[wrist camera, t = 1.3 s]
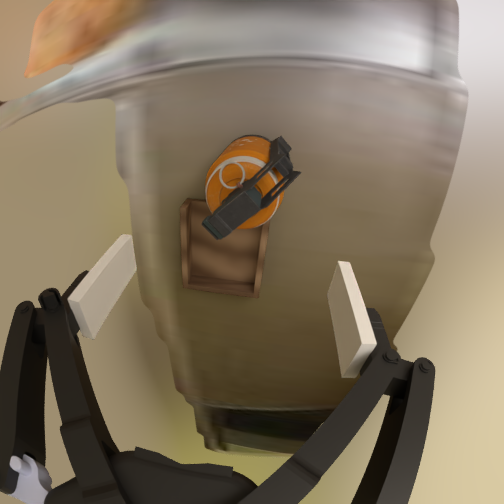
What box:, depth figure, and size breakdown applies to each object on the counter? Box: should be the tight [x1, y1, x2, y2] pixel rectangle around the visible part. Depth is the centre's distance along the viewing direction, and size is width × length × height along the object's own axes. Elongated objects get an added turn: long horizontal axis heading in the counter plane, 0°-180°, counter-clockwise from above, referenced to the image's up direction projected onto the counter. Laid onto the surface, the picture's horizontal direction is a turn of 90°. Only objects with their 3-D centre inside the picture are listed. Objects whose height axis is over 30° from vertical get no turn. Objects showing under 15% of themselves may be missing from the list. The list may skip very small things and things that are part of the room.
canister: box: [201, 135, 301, 240], centre depth 33 cm, size 9×11×20 cm
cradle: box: [180, 198, 270, 298], centre depth 48 cm, size 16×14×4 cm
